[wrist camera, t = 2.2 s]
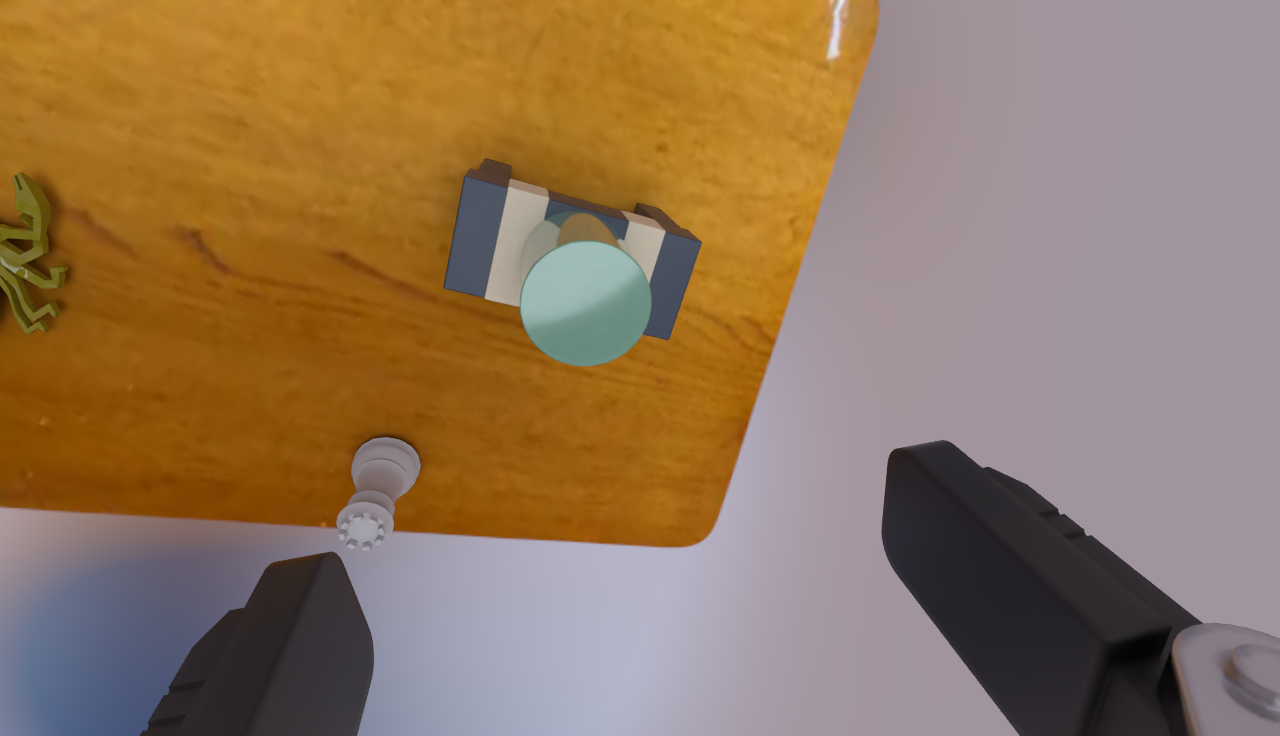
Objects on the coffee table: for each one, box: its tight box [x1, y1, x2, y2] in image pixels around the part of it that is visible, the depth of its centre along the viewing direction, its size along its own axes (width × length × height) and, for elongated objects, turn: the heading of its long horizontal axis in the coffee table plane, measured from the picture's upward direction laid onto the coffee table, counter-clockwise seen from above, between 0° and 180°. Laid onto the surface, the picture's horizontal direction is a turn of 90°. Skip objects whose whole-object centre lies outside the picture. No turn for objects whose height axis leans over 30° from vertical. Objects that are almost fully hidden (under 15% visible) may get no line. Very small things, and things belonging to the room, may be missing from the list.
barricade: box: [444, 159, 702, 340], centre depth 35 cm, size 12×6×9 cm, turn 73°
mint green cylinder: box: [519, 211, 652, 366], centre depth 28 cm, size 5×5×6 cm
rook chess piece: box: [336, 437, 421, 551], centre depth 40 cm, size 4×4×8 cm
